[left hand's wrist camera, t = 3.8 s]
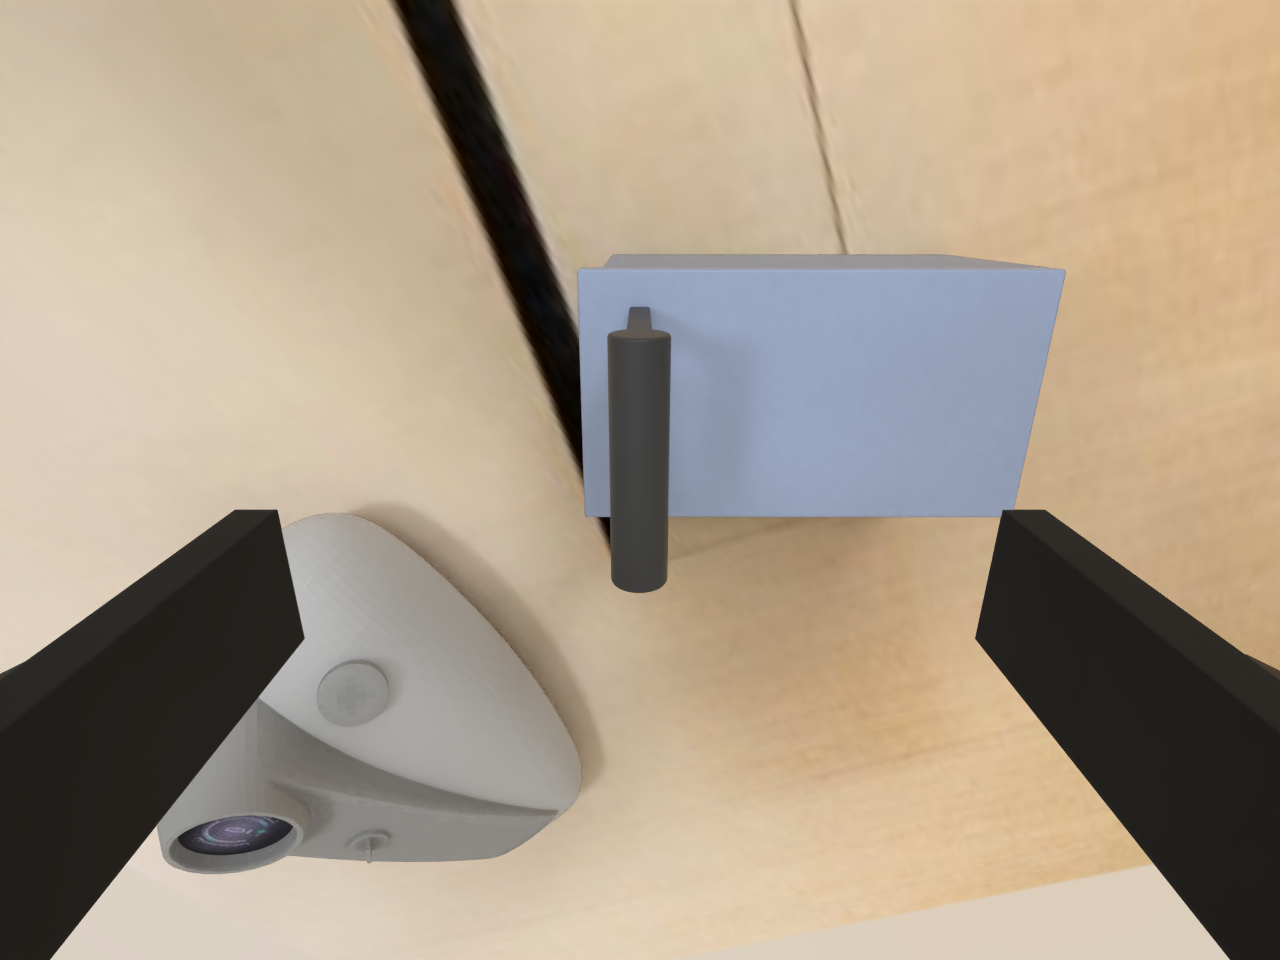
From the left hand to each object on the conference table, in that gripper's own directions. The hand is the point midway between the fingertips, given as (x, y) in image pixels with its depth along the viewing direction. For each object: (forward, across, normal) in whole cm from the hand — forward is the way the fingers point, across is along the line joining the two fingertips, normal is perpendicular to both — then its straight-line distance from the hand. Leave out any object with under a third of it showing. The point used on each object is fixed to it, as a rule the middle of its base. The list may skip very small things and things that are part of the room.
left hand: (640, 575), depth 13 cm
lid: (+14, +6, 0) cm, 15 cm away
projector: (+22, -13, -19) cm, 32 cm away
